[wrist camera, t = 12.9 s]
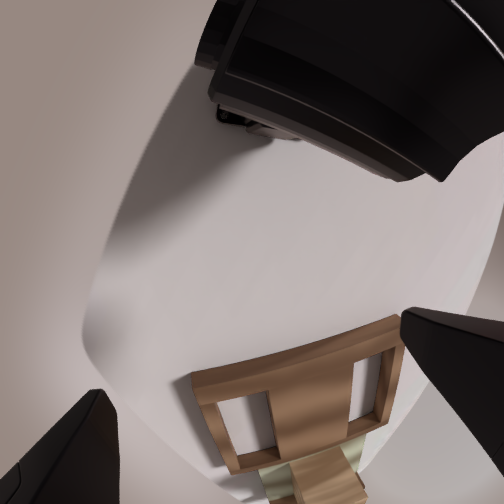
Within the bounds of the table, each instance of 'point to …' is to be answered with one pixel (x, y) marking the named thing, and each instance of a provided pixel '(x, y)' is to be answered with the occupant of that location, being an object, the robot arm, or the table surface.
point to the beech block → (326, 479)
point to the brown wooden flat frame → (304, 401)
